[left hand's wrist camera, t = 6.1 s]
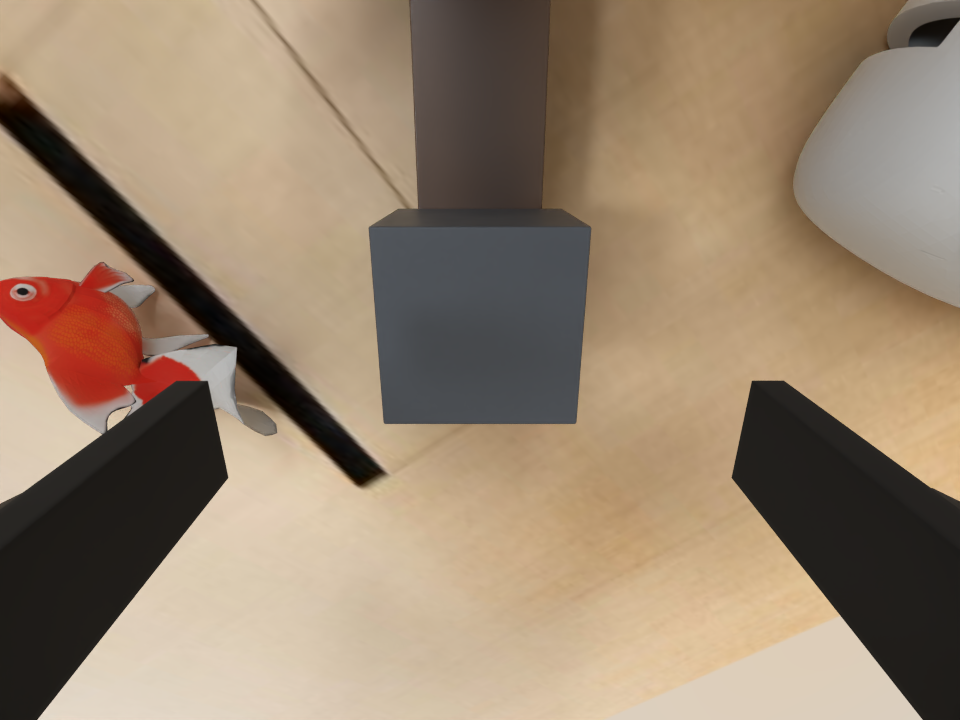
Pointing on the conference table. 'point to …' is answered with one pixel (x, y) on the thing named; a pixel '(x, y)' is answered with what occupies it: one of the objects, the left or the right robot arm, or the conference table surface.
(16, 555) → the left robot arm
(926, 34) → the projector
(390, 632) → the conference table surface
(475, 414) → the grey block
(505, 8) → the long brown block
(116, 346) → the fish
